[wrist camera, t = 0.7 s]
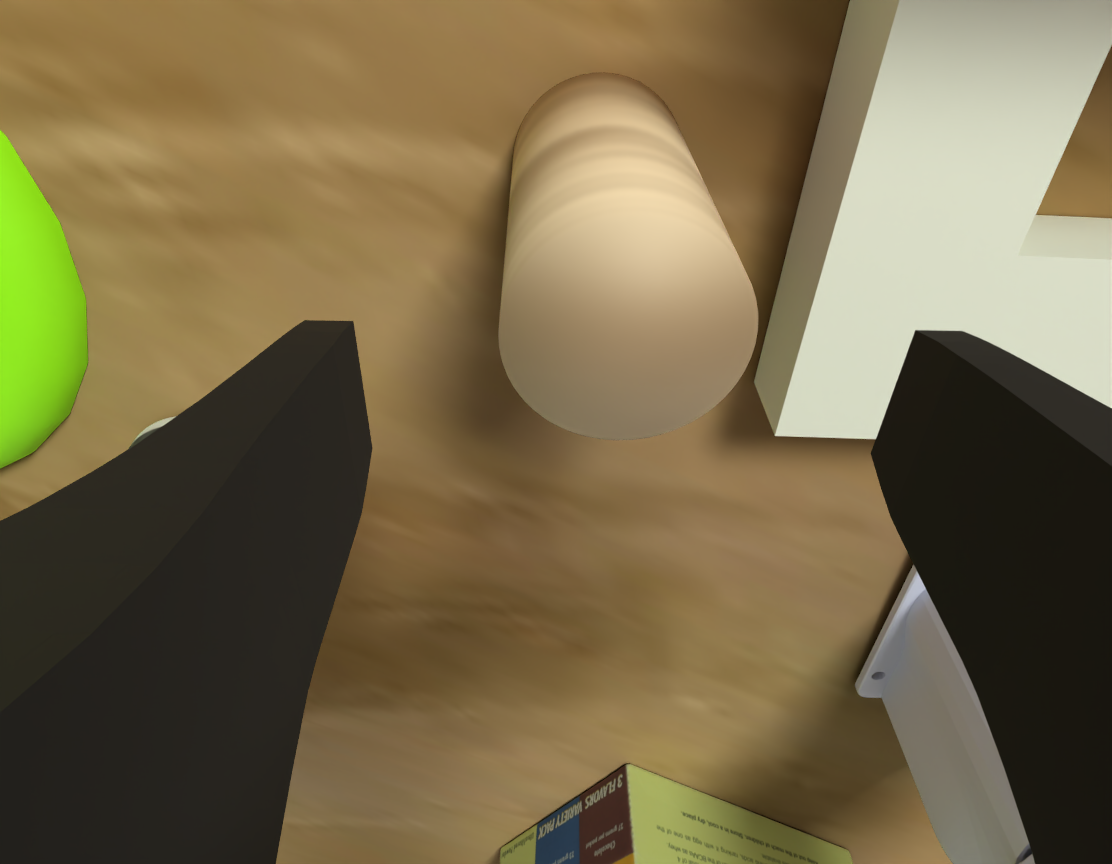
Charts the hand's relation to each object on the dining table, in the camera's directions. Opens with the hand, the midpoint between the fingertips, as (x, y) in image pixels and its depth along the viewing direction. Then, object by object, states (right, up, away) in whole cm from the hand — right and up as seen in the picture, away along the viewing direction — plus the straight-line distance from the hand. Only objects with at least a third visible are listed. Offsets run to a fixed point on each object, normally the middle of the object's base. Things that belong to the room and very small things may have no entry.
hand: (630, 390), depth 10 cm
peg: (0, +6, +8) cm, 10 cm away
